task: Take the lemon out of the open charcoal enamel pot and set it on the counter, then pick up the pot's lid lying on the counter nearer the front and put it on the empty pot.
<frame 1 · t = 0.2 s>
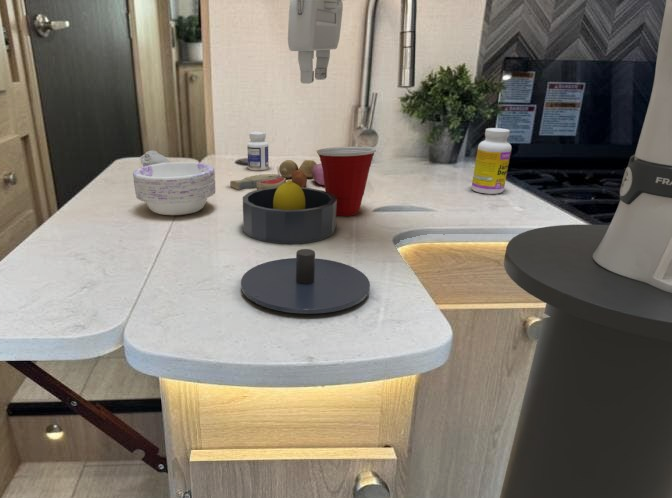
hand: (314, 81, 89), 24 cm above the countertop, tool pointing down, fingers open, 8 cm apart
pot: (288, 228, 95), on the countertop
lid: (304, 284, 71), point 1 cm above the countertop
toy food set: (293, 184, 125), on the countertop
supplement bottle: (487, 191, 118), on the countertop
plastic cup: (342, 212, 104), on the countertop
paper bowls: (177, 210, 106), on the countertop
frog figurine: (157, 182, 127), on the countertop
lemon: (289, 227, 95), resting on pot
pill bottle: (258, 169, 139), on the countertop
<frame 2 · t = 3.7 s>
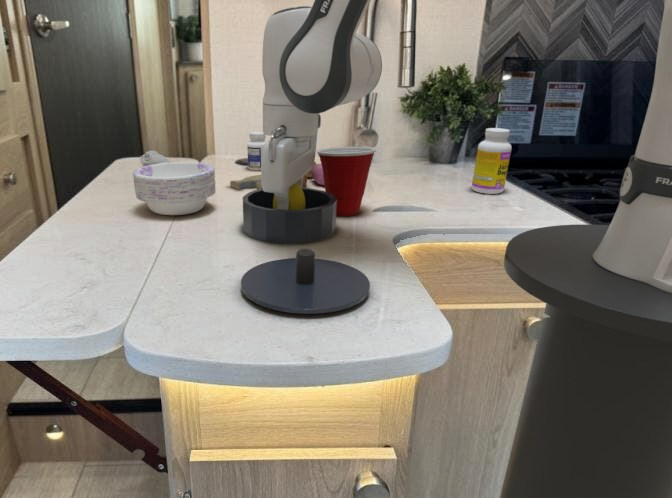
hand: (289, 206, 93), 4 cm above the countertop, tool pointing down, fingers closed on lemon, 5 cm apart
lemon: (288, 227, 95), resting on pot, touching gripper
everything else where it was.
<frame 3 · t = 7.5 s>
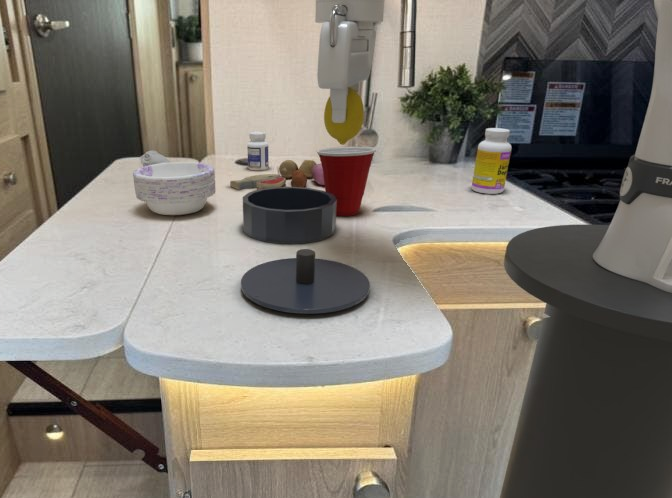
hand: (344, 119, 77), 20 cm above the countertop, tool pointing down, fingers closed on lemon, 5 cm apart
lemon: (342, 146, 78), point 16 cm above the countertop, touching gripper
everything else where it was.
when the fingers open (3 cm above the countertop, at t = 11.6 s): lemon stays where it is, on the countertop.
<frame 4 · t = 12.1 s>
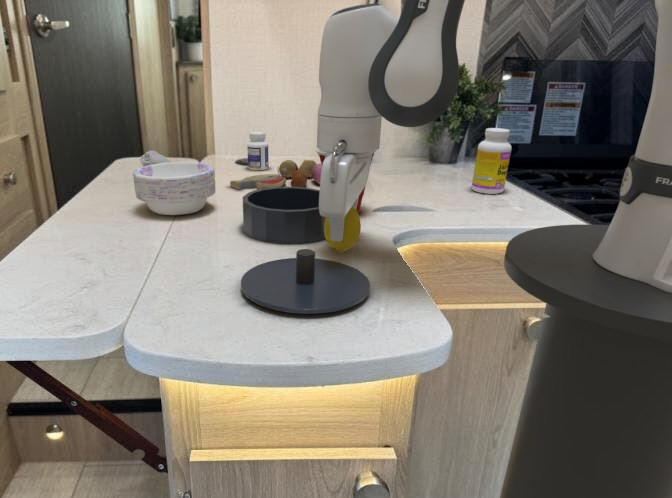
hand: (343, 229, 82), 4 cm above the countertop, tool pointing down, fingers open, 8 cm apart
lemon: (340, 253, 84), on the countertop
everything else where it was.
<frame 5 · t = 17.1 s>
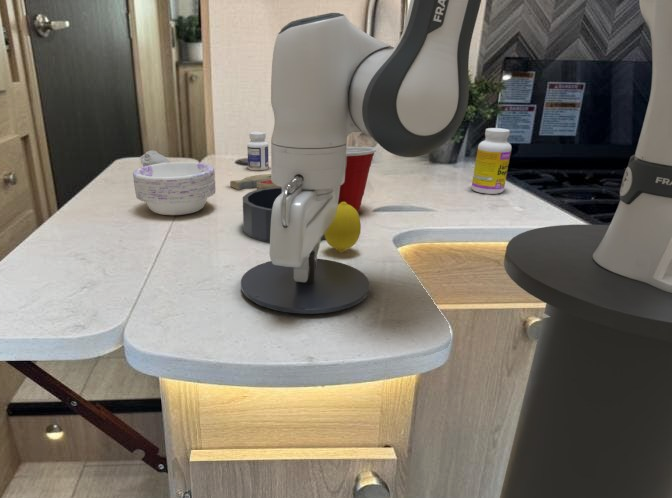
hand: (305, 274, 71), 2 cm above the countertop, tool pointing down, fingers closed on lid, 2 cm apart
lid: (304, 284, 71), point 1 cm above the countertop, touching gripper
everything else where it was.
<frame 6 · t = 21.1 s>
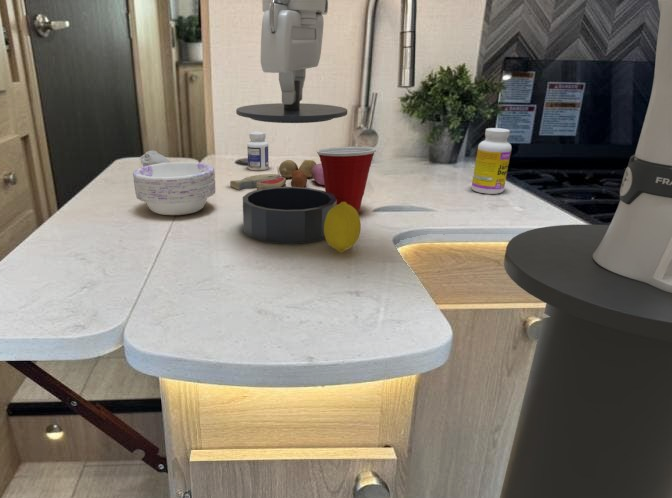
hand: (292, 102, 82), 21 cm above the countertop, tool pointing down, fingers closed on lid, 2 cm apart
lid: (291, 113, 83), point 20 cm above the countertop, touching gripper
everything else where it was.
when the fingers open (7 cm above the countertop, at t = 24.9 s): lid stays where it is, resting on pot.
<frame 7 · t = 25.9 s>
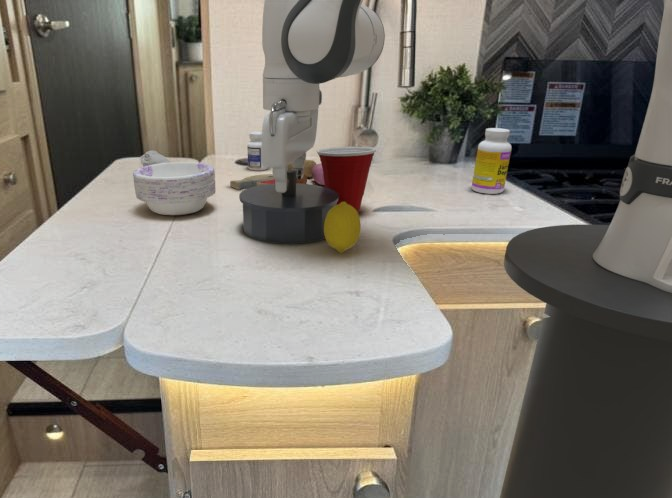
hand: (290, 184, 91), 8 cm above the countertop, tool pointing down, fingers open, 8 cm apart
lid: (288, 198, 92), point 5 cm above the countertop, touching pot
everything else where it was.
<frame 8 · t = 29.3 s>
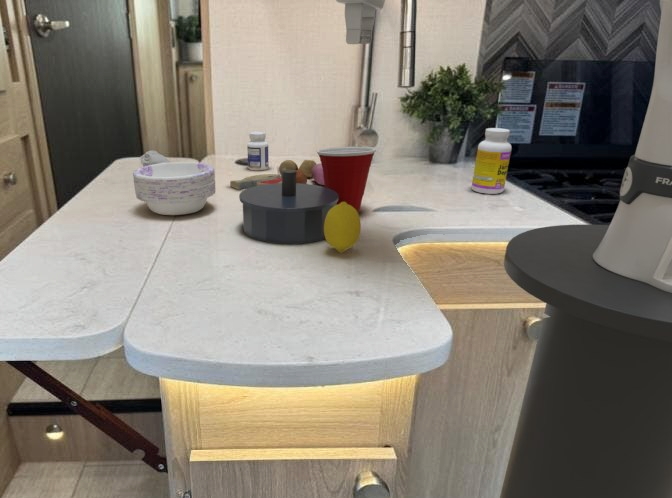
hand: (359, 44, 76), 29 cm above the countertop, tool pointing down, fingers open, 8 cm apart
nothing on the countertop moved.
at the end: lemon inside the target area (0.1 cm from its centre), on the countertop; lid 0.1 cm off-centre on the pot, point 5.4 cm above the pot's base; lid tilted 0° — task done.
